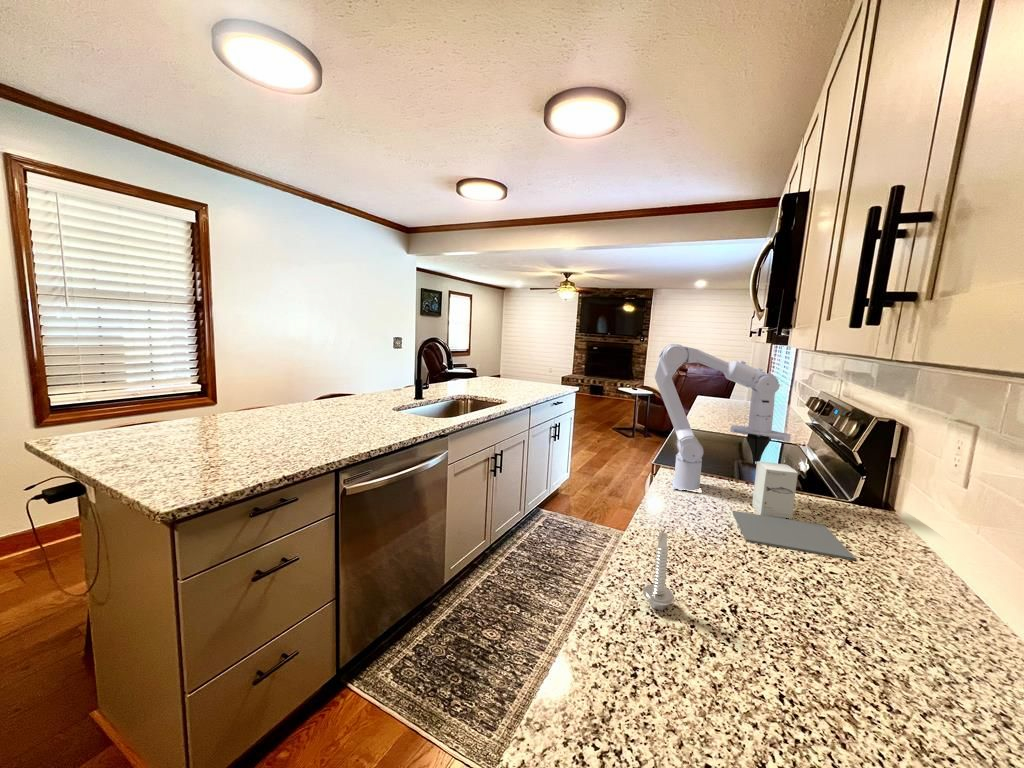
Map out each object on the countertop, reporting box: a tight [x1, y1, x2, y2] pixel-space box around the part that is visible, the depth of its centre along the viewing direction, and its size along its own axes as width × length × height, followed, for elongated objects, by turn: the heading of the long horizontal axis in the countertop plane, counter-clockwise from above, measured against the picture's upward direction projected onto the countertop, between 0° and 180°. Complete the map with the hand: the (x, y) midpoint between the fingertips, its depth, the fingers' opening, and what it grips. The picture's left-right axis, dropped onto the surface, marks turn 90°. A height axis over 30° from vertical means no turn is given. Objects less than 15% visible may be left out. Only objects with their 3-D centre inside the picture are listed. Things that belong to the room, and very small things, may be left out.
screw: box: [642, 531, 675, 611], centre depth 65 cm, size 13×5×5 cm
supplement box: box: [752, 461, 799, 520], centre depth 103 cm, size 7×7×13 cm
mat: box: [731, 510, 856, 561], centre depth 92 cm, size 16×20×1 cm
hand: (756, 461), depth 114 cm, fingers closed
